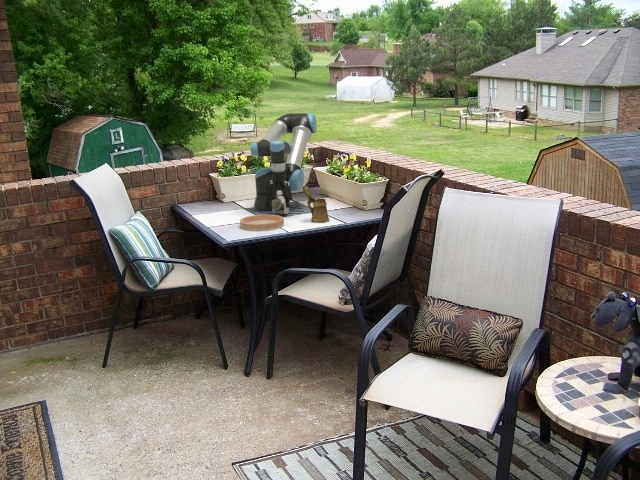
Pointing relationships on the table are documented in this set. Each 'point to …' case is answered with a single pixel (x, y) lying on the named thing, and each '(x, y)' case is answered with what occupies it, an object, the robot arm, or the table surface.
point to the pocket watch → (275, 204)
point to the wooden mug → (317, 208)
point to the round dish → (261, 222)
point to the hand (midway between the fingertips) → (280, 212)
